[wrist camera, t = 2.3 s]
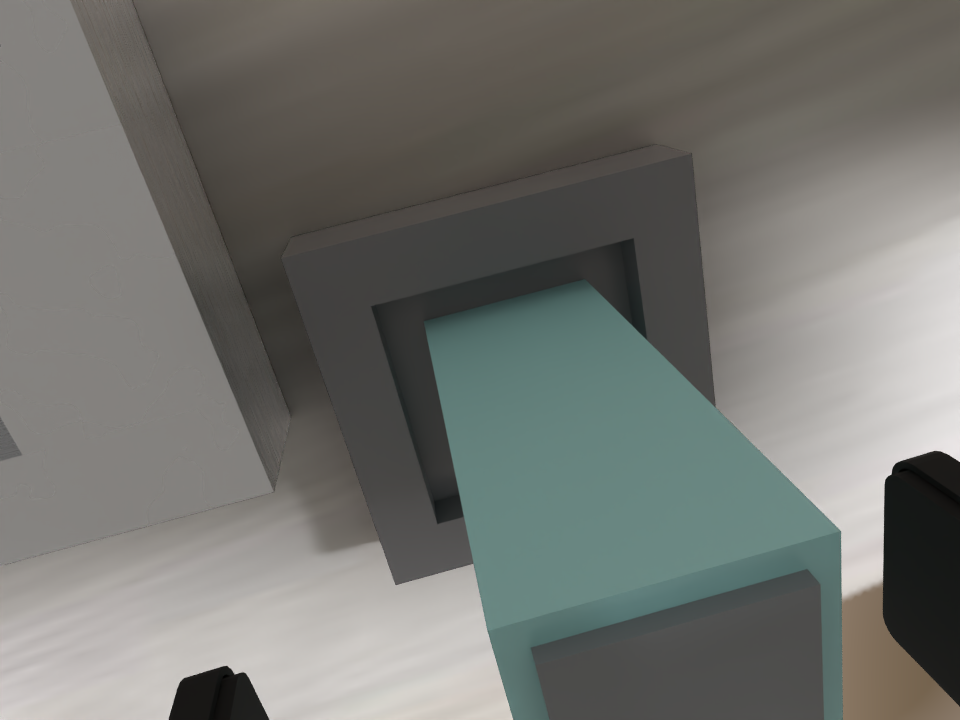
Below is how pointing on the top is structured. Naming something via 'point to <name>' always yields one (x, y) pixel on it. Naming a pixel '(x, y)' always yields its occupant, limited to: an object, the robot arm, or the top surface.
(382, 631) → the top surface
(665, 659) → the plug
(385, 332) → the grey square socket
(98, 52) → the port
